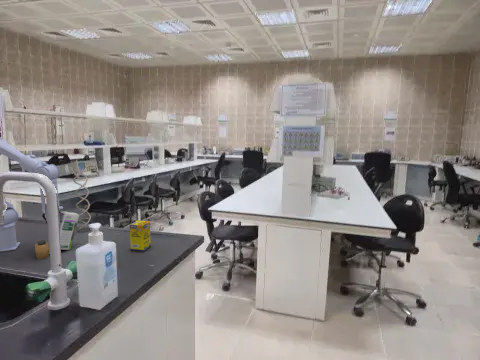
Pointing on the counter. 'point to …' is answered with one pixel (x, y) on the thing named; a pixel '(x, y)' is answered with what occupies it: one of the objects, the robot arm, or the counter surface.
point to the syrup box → (67, 228)
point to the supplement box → (140, 235)
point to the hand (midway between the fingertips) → (53, 230)
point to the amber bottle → (42, 249)
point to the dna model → (82, 197)
